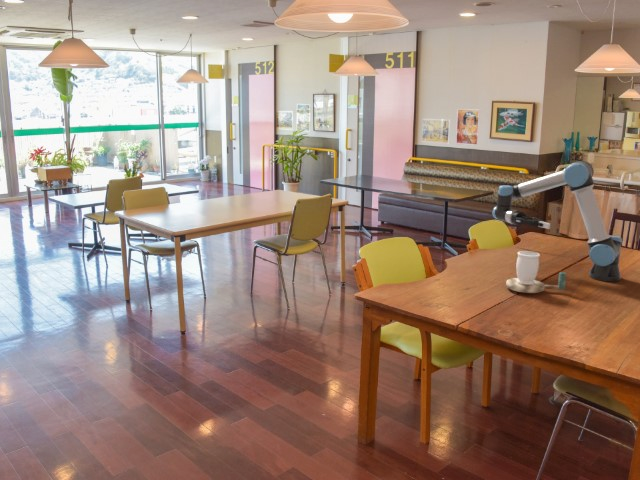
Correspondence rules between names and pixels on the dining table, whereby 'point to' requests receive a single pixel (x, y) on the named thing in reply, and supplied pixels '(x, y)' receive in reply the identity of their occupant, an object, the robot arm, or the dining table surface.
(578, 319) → the dining table surface
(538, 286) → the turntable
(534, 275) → the jar
